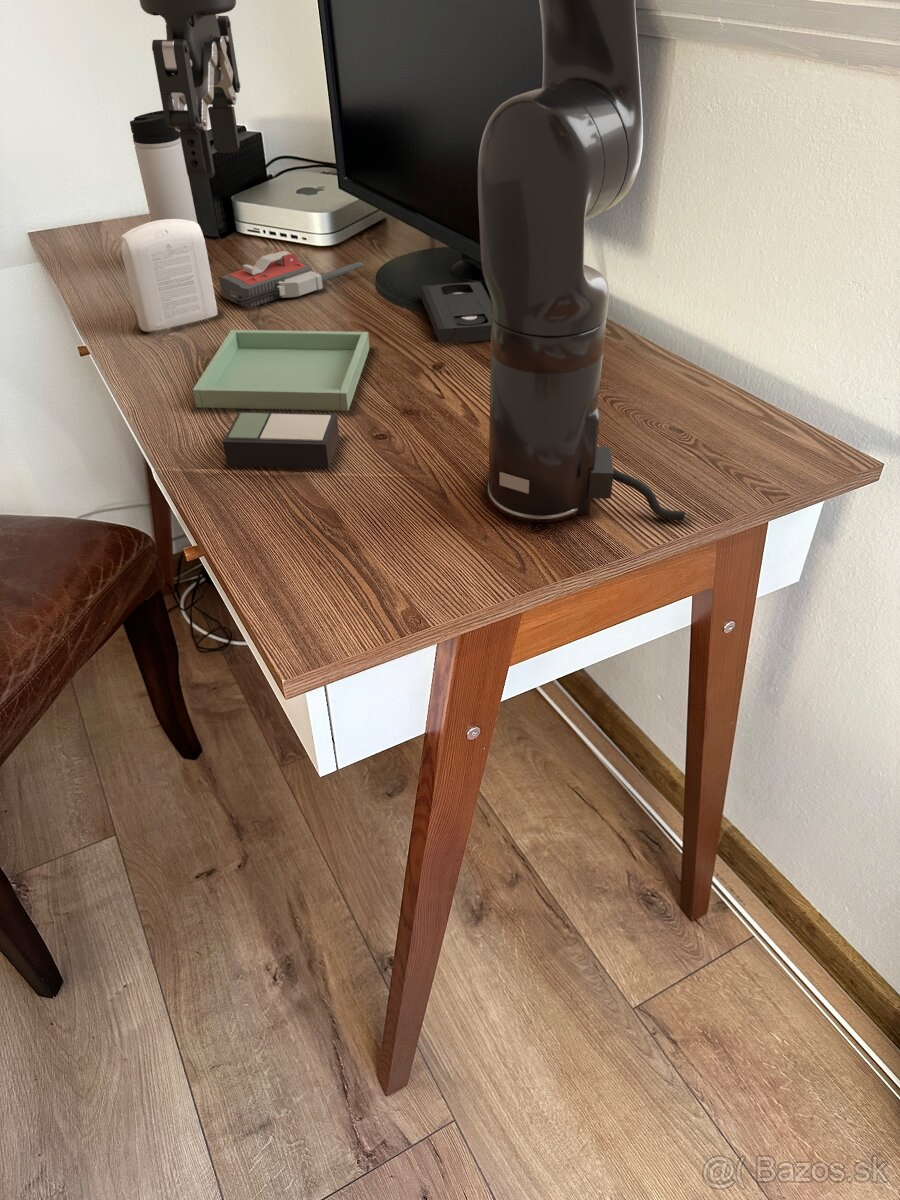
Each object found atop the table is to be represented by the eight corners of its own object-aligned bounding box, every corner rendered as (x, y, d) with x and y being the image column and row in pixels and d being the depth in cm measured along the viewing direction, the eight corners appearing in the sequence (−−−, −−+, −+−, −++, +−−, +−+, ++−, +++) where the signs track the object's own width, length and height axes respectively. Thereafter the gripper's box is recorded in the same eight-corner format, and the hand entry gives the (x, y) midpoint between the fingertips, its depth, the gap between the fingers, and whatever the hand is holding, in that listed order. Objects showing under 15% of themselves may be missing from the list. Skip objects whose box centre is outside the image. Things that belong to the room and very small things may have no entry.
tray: (369, 350, 106) (368, 331, 105) (348, 413, 95) (346, 393, 93) (234, 348, 108) (231, 329, 106) (196, 410, 96) (192, 389, 94)
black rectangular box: (339, 440, 90) (336, 412, 88) (329, 471, 86) (325, 442, 84) (243, 437, 91) (238, 409, 89) (228, 468, 86) (222, 440, 84)
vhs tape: (502, 339, 108) (503, 323, 107) (439, 345, 107) (438, 329, 106) (480, 295, 119) (480, 280, 118) (422, 300, 118) (421, 285, 117)
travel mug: (201, 270, 128) (171, 115, 115) (156, 271, 128) (120, 116, 115) (211, 255, 133) (182, 105, 120) (167, 255, 133) (134, 106, 120)
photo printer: (211, 306, 118) (192, 209, 110) (224, 317, 115) (205, 218, 107) (135, 325, 113) (109, 225, 105) (146, 336, 111) (121, 234, 103)
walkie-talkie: (249, 317, 115) (367, 276, 125) (243, 283, 112) (365, 244, 122) (212, 299, 120) (329, 261, 130) (205, 266, 117) (325, 230, 127)
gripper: (199, -54, 63) (236, 189, 73) (248, -70, 74) (274, 144, 84) (96, -54, 63) (148, 188, 74) (159, -69, 74) (197, 143, 85)
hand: (215, 164), depth 79 cm, fingers open, 8 cm apart
